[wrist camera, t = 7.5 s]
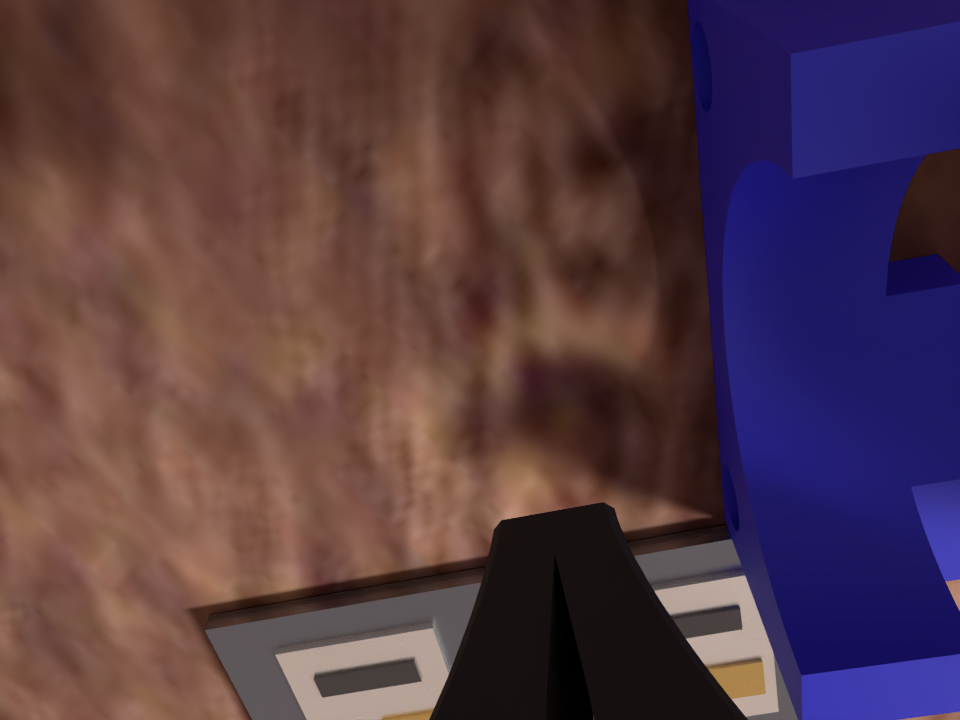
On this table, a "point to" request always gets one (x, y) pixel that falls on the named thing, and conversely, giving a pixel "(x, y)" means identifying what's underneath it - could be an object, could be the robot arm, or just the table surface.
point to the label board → (442, 623)
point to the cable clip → (835, 340)
